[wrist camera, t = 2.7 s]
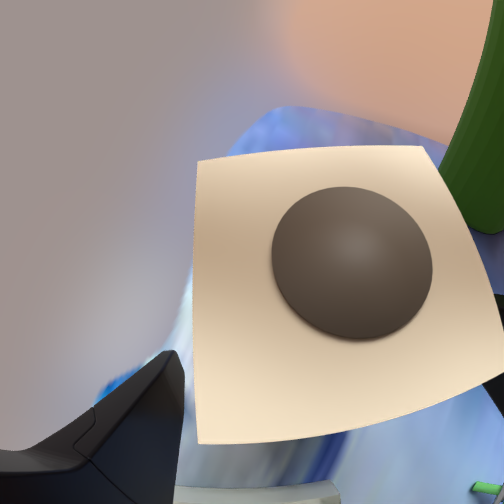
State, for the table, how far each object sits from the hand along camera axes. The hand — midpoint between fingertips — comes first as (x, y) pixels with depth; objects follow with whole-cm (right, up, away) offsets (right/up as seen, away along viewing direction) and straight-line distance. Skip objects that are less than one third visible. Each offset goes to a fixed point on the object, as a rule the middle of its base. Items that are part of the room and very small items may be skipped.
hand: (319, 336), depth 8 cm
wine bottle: (+19, +8, +12) cm, 24 cm away
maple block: (+1, -4, +7) cm, 8 cm away
